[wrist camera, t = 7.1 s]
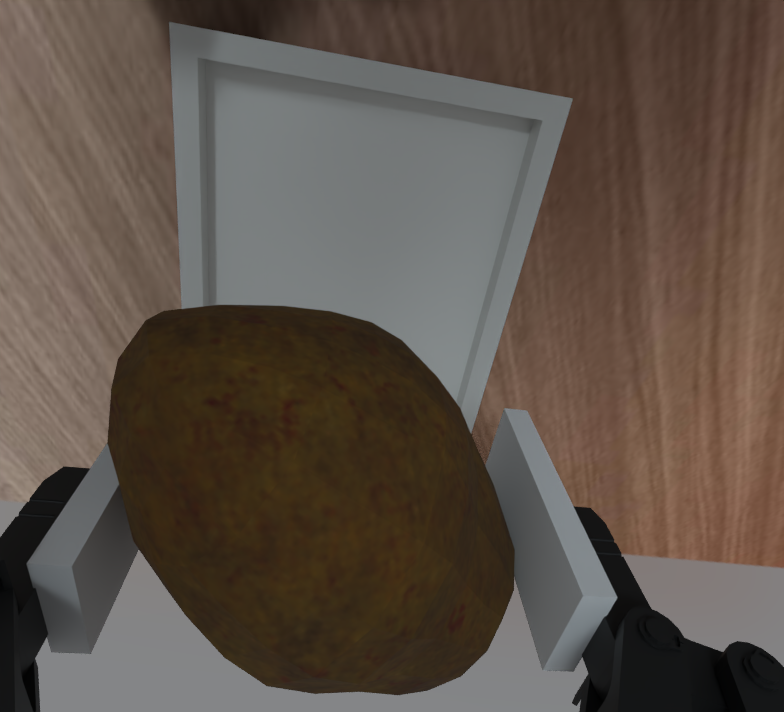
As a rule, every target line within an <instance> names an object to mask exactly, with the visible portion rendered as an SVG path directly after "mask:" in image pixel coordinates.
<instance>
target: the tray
mask: <svg viewBox="0 0 784 712" xmlns="http://www.w3.org/2000/svg"><path fill="white" fill-rule="evenodd" d="M169 31H170V54H171V76H172V99H173V121H174V144H175V167H176V189H177V212H178V234H179V257H180V279H181V302H182V309H186V308H194V307H203V306H212V305H269V306H289V307H298V308H307V309H315V310H324V311H332V312H336V313H340V314H343V315H347V316H351V317H354V318H358V319H362V320H365V321H369V322H372V323H374V324H375V325H377V326H379V327H381V328H382V329H384V330H386V331H387V332H389V333H391V334H392V335H394V336H396V337H398V338H399V339H401V340H402V341H403V342H404V343H405V344H406V345H407V346H408V347H409V348H410V349H411V350H412V351H413V352H414V353H415V354H416V355H417V356H418V357H419V358H420V359H421V360H422V361H423V362H424V363H425V364H426V366H427V367H428V368H429V369H430V370H431V371H432V372H433V373H434V374H435V375H436V376H437V377H438V378H439V380H440V381H441V382H442V384H443V385H444V387H445V388H446V389H447V391H448V392H449V393H450V395H451V396H452V397H453V399H454V400H455V402H456V403H457V404H458V406H459V407H460V409H461V411H462V413H463V416H464V418H465V421H466V423H467V426H468V428H469V430H470V433H472V429H473V426H474V423H475V419H476V416H477V413H478V410H479V406H480V403H481V400H482V396H483V393H484V390H485V386H486V383H487V380H488V377H489V373H490V370H491V367H492V363H493V360H494V357H495V354H496V350H497V347H498V344H499V340H500V337H501V334H502V330H503V327H504V324H505V321H506V317H507V314H508V311H509V307H510V304H511V301H512V298H513V294H514V291H515V288H516V284H517V281H518V278H519V275H520V271H521V268H522V265H523V261H524V258H525V255H526V251H527V248H528V245H529V242H530V238H531V235H532V232H533V228H534V225H535V222H536V219H537V215H538V212H539V209H540V205H541V202H542V199H543V195H544V192H545V189H546V186H547V182H548V179H549V176H550V172H551V169H552V166H553V163H554V159H555V156H556V153H557V149H558V146H559V143H560V139H561V136H562V133H563V130H564V126H565V123H566V120H567V116H568V113H569V110H570V107H571V103H572V100H573V98H567V97H562V96H557V95H552V94H546V93H541V92H536V91H531V90H525V89H520V88H515V87H510V86H504V85H499V84H494V83H489V82H483V81H478V80H473V79H468V78H462V77H457V76H452V75H446V74H441V73H436V72H431V71H425V70H420V69H415V68H410V67H404V66H399V65H394V64H389V63H383V62H378V61H373V60H368V59H362V58H357V57H352V56H347V55H341V54H336V53H331V52H325V51H320V50H315V49H310V48H304V47H299V46H294V45H289V44H283V43H278V42H273V41H268V40H262V39H257V38H252V37H247V36H241V35H236V34H231V33H226V32H220V31H215V30H210V29H204V28H199V27H194V26H189V25H183V24H178V23H173V22H169Z"/></svg>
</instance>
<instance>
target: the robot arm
mask: <svg viewBox="0 0 784 712" xmlns="http://www.w3.org/2000/svg"><path fill="white" fill-rule="evenodd" d="M485 467H486V469H487V471H488V473H489V475H490V478H491V480H492V482H493V484H494V487H495V490H496V493H497V497H498V500H499V503H500V506H501V509H502V512H503V515H504V518H505V521H506V524H507V527H508V530H509V534H510V537H511V540H512V543H513V546H514V549H515V561H514V577H515V580H516V584H517V587H518V590H519V594H520V597H521V600H522V604H523V607H524V610H525V613H526V617H527V620H528V624H529V627H530V630H531V633H532V637H533V640H534V643H535V647H536V650H537V653H538V657H539V660H540V663H541V666H542V670H547V671H574V670H575V668H576V666H577V665H578V663H579V661H580V660H581V658H582V657H583V660H584V662H585V665H586V668H587V670H588V673H589V674H588V676H587V677H586V679H585V680H584V682H583V684H582V685H581V687H580V689H579V690H578V692H577V693H576V695H575V697H574V699H573V702H572V703H573V704H574V705H576V706H577V704H578V703H579V701H580V700H581V704H580V712H784V667H783V666H782V665H781V664H780V663H779V662H778V661H777V660H776V659H775V658H774V657H773V656H771V655H770V654H769V653H767V652H766V651H764V650H763V649H762V648H759V647H757V646H755V645H753V644H750V643H747V642H738V641H737V642H734V643H732V644H730V645H729V646H728V647H727V648H726V649H725V651H724V652H721V651H718V650H715V649H713V648H710V647H707V646H704V645H701V644H699V643H696V642H693V641H690V640H688V639H686V638H684V636H683V635H682V633H681V632H680V630H679V629H678V628H677V627H676V626H675V625H674V624H673V623H672V622H671V621H670V620H669V619H668V618H666V617H665V616H663V615H662V614H660V613H659V612H657V611H655V610H652V609H651V607H650V606H649V604H648V602H647V600H646V598H645V596H644V595H643V593H642V591H641V589H640V587H639V585H638V583H637V582H636V580H635V578H634V576H633V574H632V572H631V570H630V568H629V567H628V565H627V563H626V561H625V559H624V557H622V556H621V552H620V550H619V548H618V546H617V544H616V543H614V539H613V537H612V535H611V533H610V531H609V529H608V527H607V525H606V524H605V522H604V521H603V520H602V519H601V518H600V517H599V516H598V515H597V514H596V513H595V512H594V511H593V510H592V509H591V508H586V507H573V505H572V503H571V500H570V498H569V496H568V494H567V492H566V490H565V488H564V486H563V484H562V482H561V480H560V478H559V476H558V474H557V472H556V469H555V467H554V465H553V463H552V461H551V459H550V457H549V455H548V453H547V451H546V449H545V447H544V445H543V443H542V441H541V438H540V436H539V434H538V432H537V430H536V428H535V426H534V424H533V422H532V420H531V418H530V416H529V414H528V412H527V411H525V410H516V409H507V408H504V411H503V414H502V417H501V420H500V423H499V426H498V429H497V432H496V435H495V438H494V441H493V444H492V447H491V450H490V453H489V456H488V459H487V462H486V465H485ZM138 550H139V549H138V547H137V546H136V544H135V543H134V541H133V539H132V535H131V530H130V526H129V522H128V518H127V514H126V510H125V506H124V502H123V498H122V494H121V490H120V486H119V482H118V478H117V475H116V471H115V468H114V464H113V461H112V457H111V454H110V450H109V447H108V443H107V444H106V446H105V447H104V449H103V450H102V452H101V453H100V455H99V456H98V458H97V459H96V461H95V462H94V464H93V465H92V467H91V468H90V469H89V468H76V467H63V468H61V469H60V470H58V471H57V472H55V473H54V474H53V475H51V476H50V477H48V478H47V479H45V480H44V481H43V482H42V483H41V485H40V486H39V487H38V489H37V490H36V491H35V493H34V494H33V495H32V496H31V498H30V501H29V502H27V503H26V504H25V506H24V507H23V508H22V510H21V511H20V512H19V516H18V517H15V519H14V520H13V521H12V523H11V524H10V525H9V527H8V528H7V529H6V530H5V532H4V533H3V534H2V536H1V537H0V712H40V699H39V679H38V666H37V663H36V660H35V657H36V656H37V654H38V652H39V650H40V648H41V646H42V645H43V643H44V641H45V639H46V637H47V639H48V642H49V646H50V649H51V652H58V653H86V654H91V652H92V650H93V648H94V645H95V643H96V641H97V638H98V637H99V635H100V632H101V630H102V628H103V626H104V624H105V621H106V619H107V617H108V615H109V613H110V610H111V608H112V606H113V604H114V602H115V600H116V597H117V595H118V593H119V591H120V589H121V587H122V584H123V582H124V580H125V578H126V576H127V573H128V571H129V569H130V567H131V565H132V563H133V560H134V558H135V556H136V554H137V552H138Z"/></svg>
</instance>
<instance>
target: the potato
mask: <svg viewBox="0 0 784 712" xmlns="http://www.w3.org/2000/svg"><path fill="white" fill-rule="evenodd" d="M108 447H109V450H110V454H111V457H112V461H113V464H114V468H115V471H116V475H117V478H118V482H119V486H120V490H121V494H122V498H123V502H124V506H125V510H126V514H127V518H128V522H129V526H130V530H131V535H132V539H133V541H134V543H135V544H136V546H137V547H138V549H139V550H140V551H141V553H142V554H143V555H144V557H145V559H146V560H147V561H148V563H149V564H150V566H151V567H152V569H153V570H154V572H155V573H156V575H157V576H158V577H159V579H160V580H161V582H162V583H163V585H164V586H165V587H166V589H167V590H168V592H169V593H170V594H171V596H172V597H173V598H174V600H175V601H176V603H177V604H178V605H179V607H180V608H181V609H182V611H183V612H184V614H185V615H186V616H187V617H188V618H189V619H190V620H191V622H192V623H193V624H194V625H195V626H196V627H197V628H198V629H199V630H200V631H201V633H202V634H203V635H204V636H205V637H206V638H207V639H208V640H209V641H210V642H211V643H212V644H213V646H214V647H215V648H216V649H217V650H218V651H219V652H220V653H221V654H222V655H223V657H225V658H226V659H228V660H229V661H231V662H232V663H233V664H235V665H237V666H238V667H239V668H241V669H242V670H244V671H245V672H247V673H248V674H250V675H251V676H253V677H254V678H256V679H257V680H259V681H260V682H262V683H263V684H265V685H266V686H271V687H276V688H283V689H289V690H296V691H302V692H308V693H314V694H318V693H338V692H371V693H382V694H392V695H402V694H408V693H415V692H421V691H427V690H430V689H432V688H435V687H437V686H439V685H442V684H444V683H446V682H449V681H451V680H453V679H456V678H458V677H460V676H462V675H463V674H464V673H465V672H466V671H467V670H468V669H469V668H470V667H471V666H472V665H473V664H474V663H475V662H476V661H477V660H478V659H479V658H480V657H481V656H482V655H483V654H484V653H485V652H486V651H487V650H488V648H489V646H490V644H491V642H492V640H493V638H494V636H495V633H496V631H497V629H498V627H499V625H500V623H501V621H502V619H503V616H504V614H505V611H506V609H507V606H508V603H509V601H510V598H511V596H512V593H513V591H514V561H515V549H514V546H513V543H512V540H511V537H510V534H509V530H508V527H507V524H506V521H505V518H504V515H503V512H502V509H501V506H500V503H499V500H498V497H497V493H496V490H495V487H494V484H493V482H492V480H491V478H490V475H489V473H488V471H487V469H486V467H485V465H484V462H483V460H482V458H481V456H480V454H479V452H478V449H477V447H476V445H475V442H474V440H473V438H472V435H471V433H470V430H469V428H468V426H467V423H466V421H465V418H464V416H463V413H462V411H461V409H460V407H459V406H458V404H457V403H456V402H455V400H454V399H453V397H452V396H451V395H450V393H449V392H448V391H447V389H446V388H445V387H444V385H443V384H442V382H441V381H440V380H439V378H438V377H437V376H436V375H435V374H434V373H433V372H432V371H431V370H430V369H429V368H428V367H427V366H426V364H425V363H424V362H423V361H422V360H421V359H420V358H419V357H418V356H417V355H416V354H415V353H414V352H413V351H412V350H411V349H410V348H409V347H408V346H407V345H406V344H405V343H404V342H403V341H402V340H401V339H399V338H398V337H396V336H394V335H392V334H391V333H389V332H387V331H386V330H384V329H382V328H381V327H379V326H377V325H375V324H374V323H372V322H369V321H365V320H362V319H358V318H354V317H351V316H347V315H343V314H340V313H336V312H332V311H324V310H315V309H307V308H298V307H289V306H269V305H212V306H203V307H194V308H186V309H177V310H168V311H163V312H161V313H159V314H157V315H155V316H153V317H152V318H150V319H148V320H146V321H145V322H144V324H143V325H142V327H141V328H140V329H139V331H138V332H137V334H136V335H135V336H134V338H133V339H132V341H131V342H130V343H129V345H128V346H127V347H126V349H125V350H124V352H123V353H122V354H121V356H120V357H119V359H118V362H117V366H116V371H115V375H114V380H113V384H112V389H111V403H110V416H109V430H108Z"/></svg>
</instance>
